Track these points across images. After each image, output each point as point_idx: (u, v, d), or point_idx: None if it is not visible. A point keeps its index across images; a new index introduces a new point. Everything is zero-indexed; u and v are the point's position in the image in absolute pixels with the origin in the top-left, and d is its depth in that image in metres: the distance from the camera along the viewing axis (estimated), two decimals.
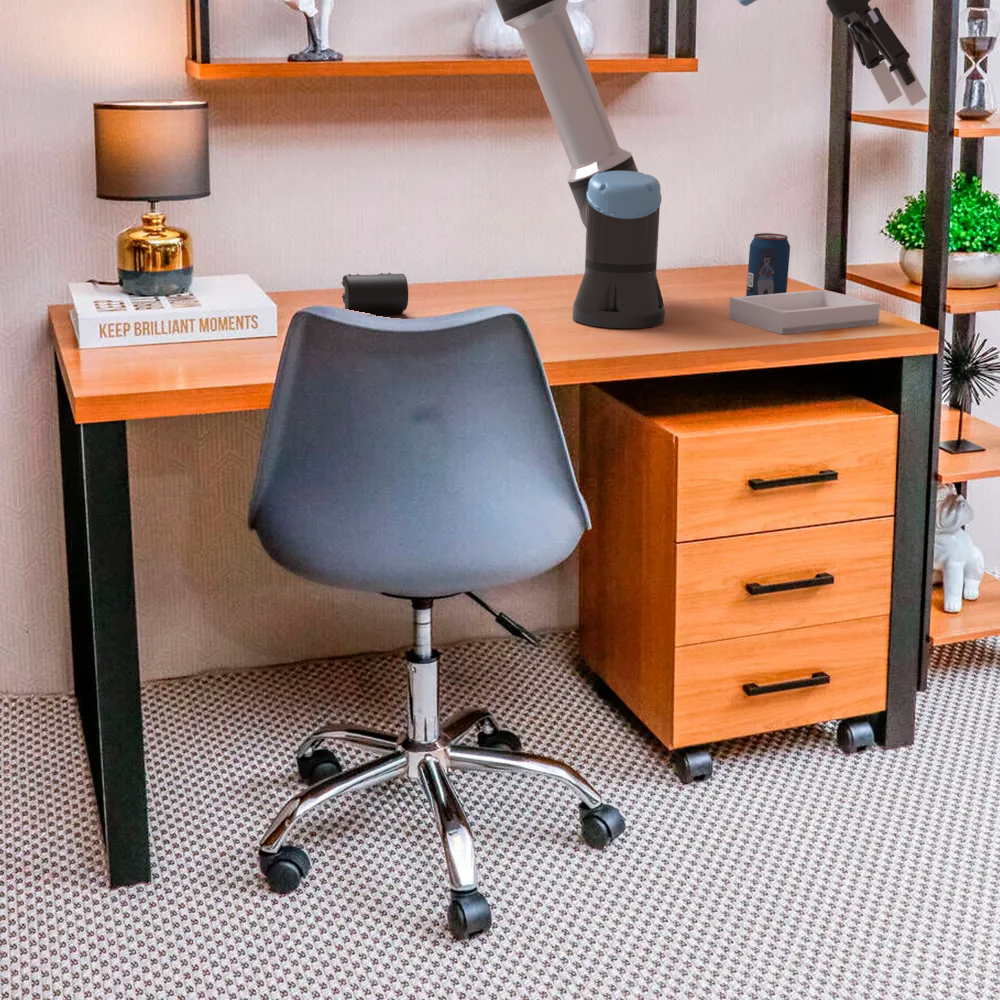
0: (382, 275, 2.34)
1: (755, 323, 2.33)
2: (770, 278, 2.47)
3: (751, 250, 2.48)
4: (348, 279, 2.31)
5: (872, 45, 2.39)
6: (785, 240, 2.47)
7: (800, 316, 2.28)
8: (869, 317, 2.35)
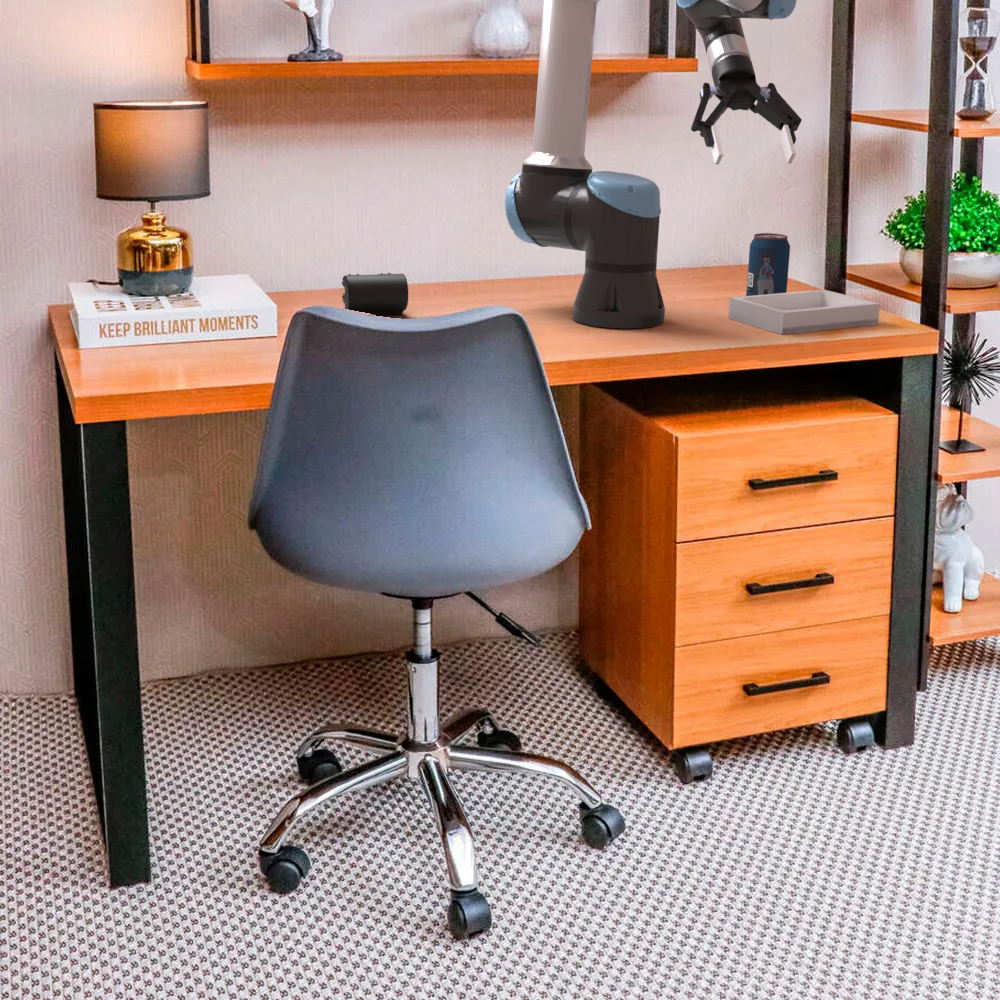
0: (382, 275, 2.34)
1: (755, 323, 2.33)
2: (770, 278, 2.47)
3: (751, 250, 2.48)
4: (348, 279, 2.31)
5: (719, 115, 2.57)
6: (785, 240, 2.47)
7: (800, 316, 2.28)
8: (869, 317, 2.35)
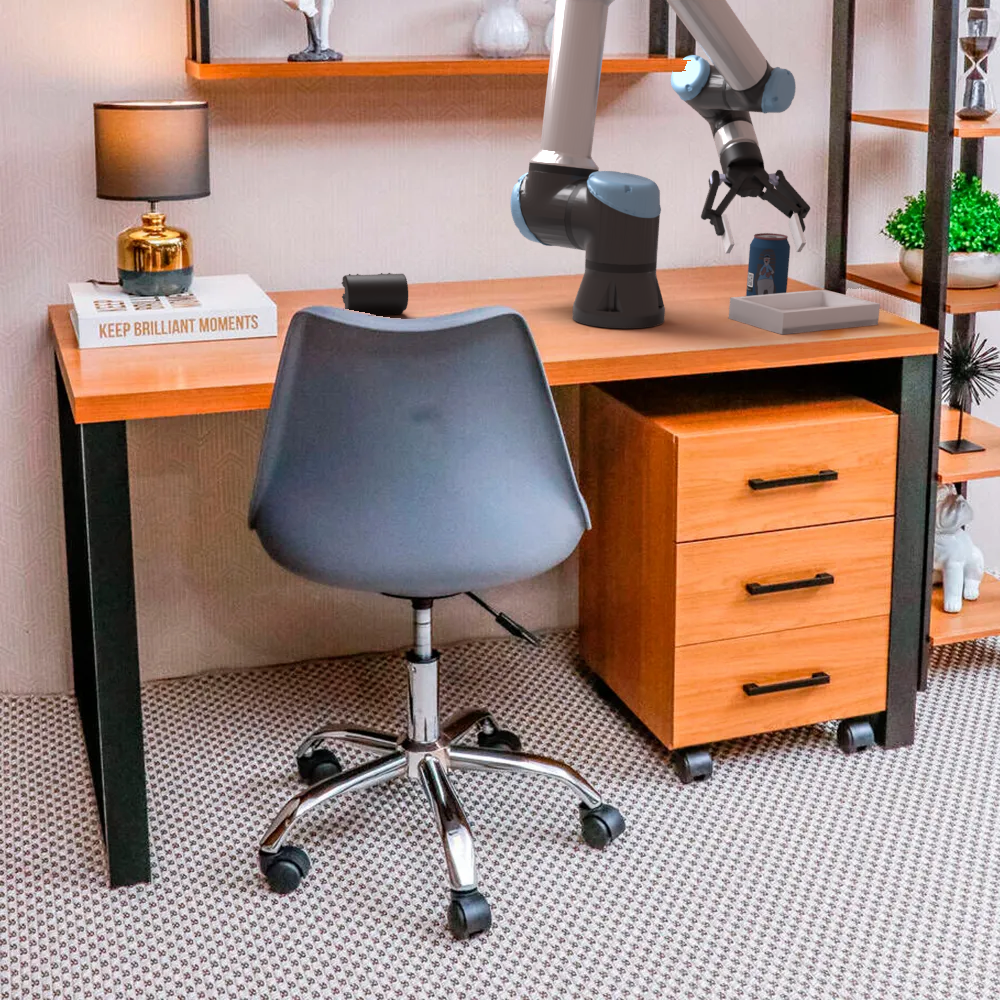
0: (382, 275, 2.34)
1: (755, 323, 2.33)
2: (770, 278, 2.47)
3: (751, 250, 2.48)
4: (348, 279, 2.31)
5: (729, 203, 2.57)
6: (785, 240, 2.47)
7: (800, 316, 2.28)
8: (869, 317, 2.35)
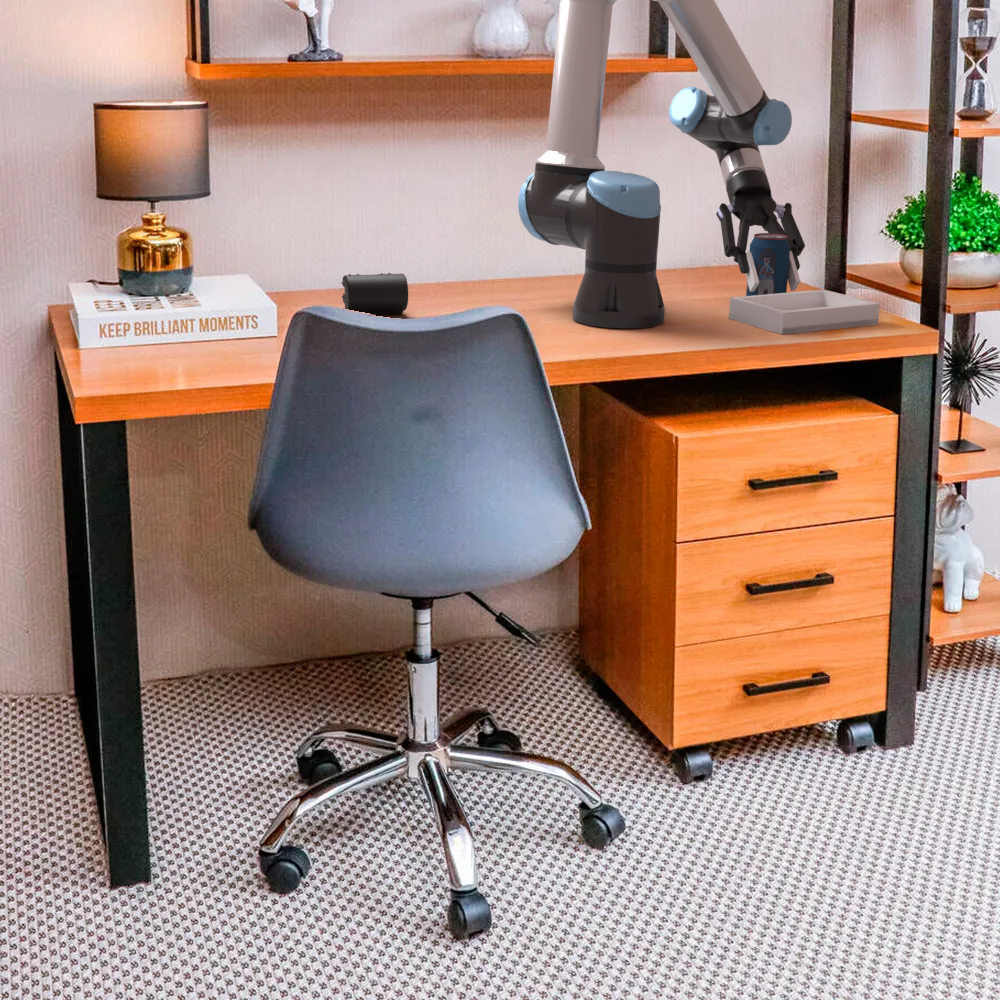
0: (382, 275, 2.34)
1: (755, 323, 2.33)
2: (770, 278, 2.47)
3: (751, 250, 2.48)
4: (348, 279, 2.31)
5: None
6: (785, 240, 2.47)
7: (800, 316, 2.28)
8: (869, 317, 2.35)
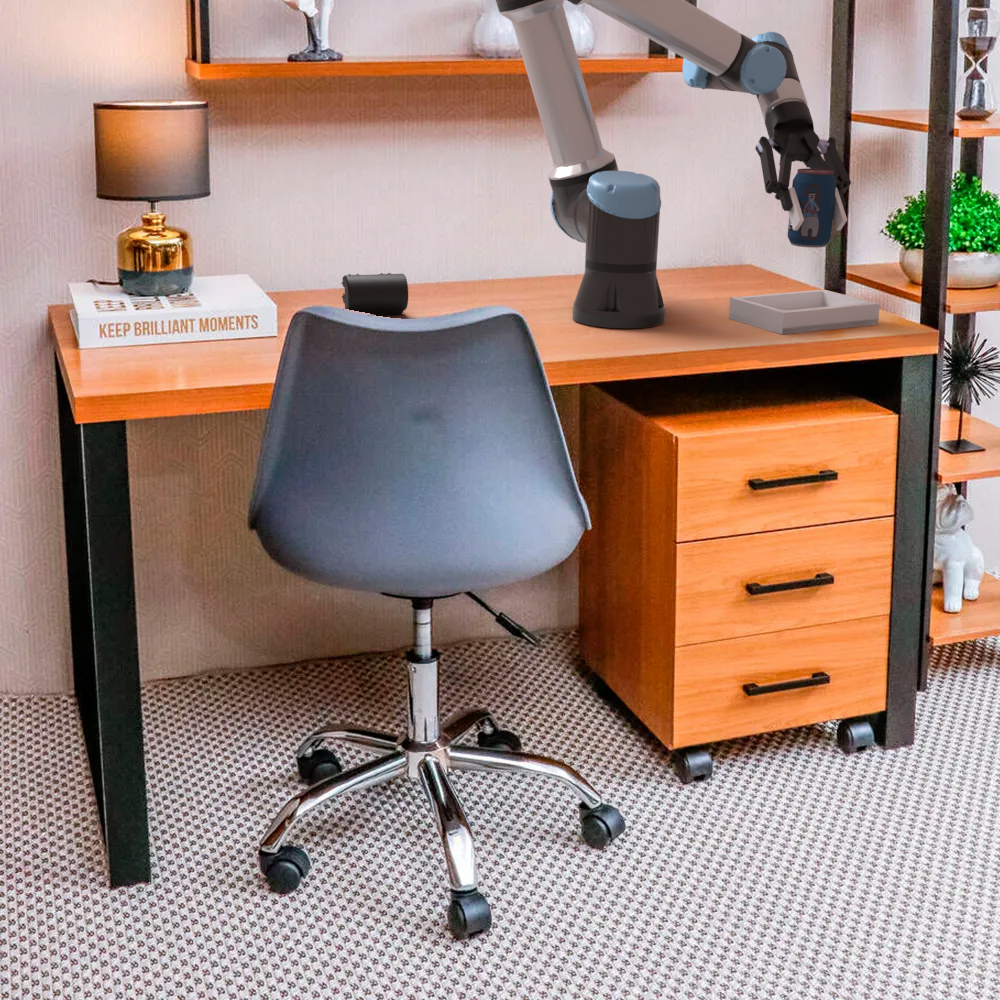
0: (382, 275, 2.34)
1: (755, 323, 2.33)
2: (815, 216, 2.30)
3: (794, 186, 2.31)
4: (348, 279, 2.31)
5: None
6: (831, 175, 2.29)
7: (800, 316, 2.28)
8: (869, 317, 2.35)
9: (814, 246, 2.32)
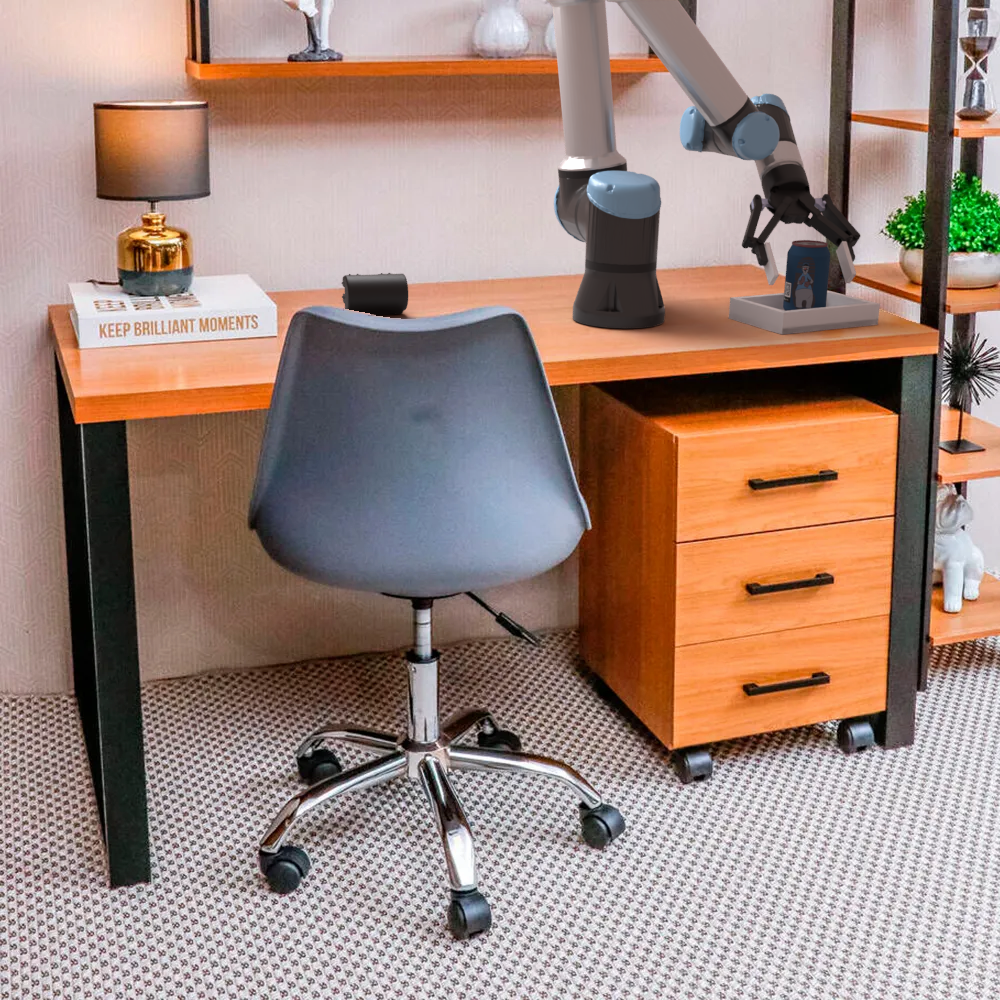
0: (382, 275, 2.34)
1: (755, 323, 2.33)
2: (809, 288, 2.33)
3: (789, 258, 2.34)
4: (348, 279, 2.31)
5: (772, 230, 2.37)
6: (825, 247, 2.32)
7: (800, 316, 2.28)
8: (869, 317, 2.35)
9: None
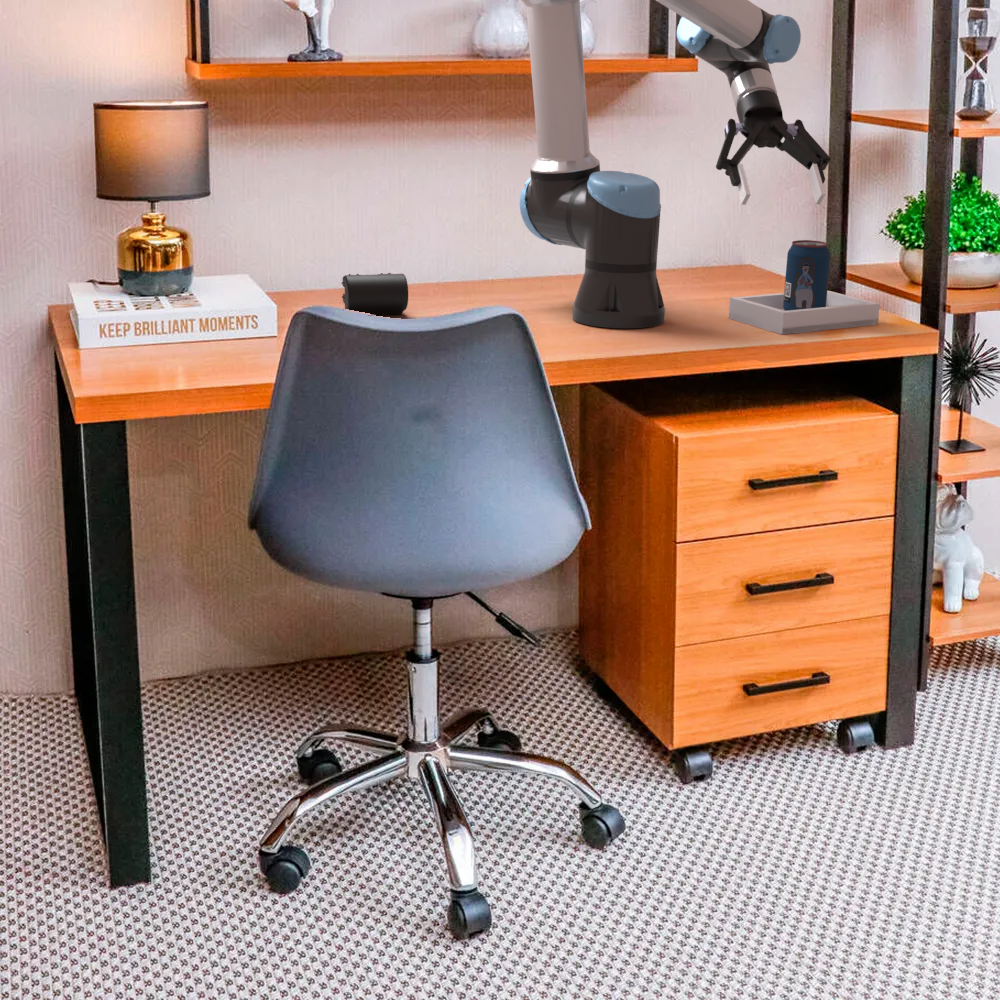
0: (382, 275, 2.34)
1: (755, 323, 2.33)
2: (809, 288, 2.33)
3: (789, 258, 2.34)
4: (348, 279, 2.31)
5: (745, 153, 2.46)
6: (825, 248, 2.32)
7: (800, 316, 2.28)
8: (869, 317, 2.35)
9: None
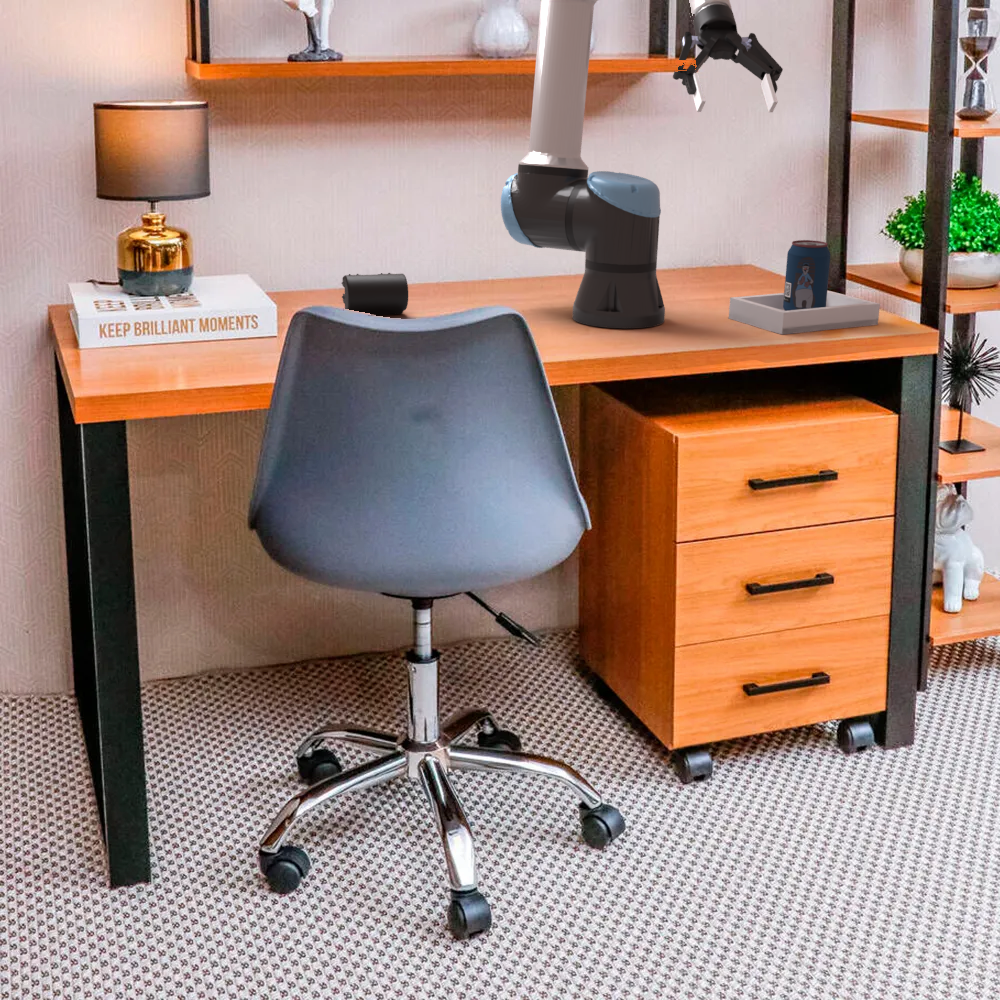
0: (382, 275, 2.34)
1: (755, 323, 2.33)
2: (809, 288, 2.33)
3: (789, 258, 2.34)
4: (348, 279, 2.31)
5: (701, 64, 2.57)
6: (825, 248, 2.32)
7: (800, 316, 2.28)
8: (869, 317, 2.35)
9: None
